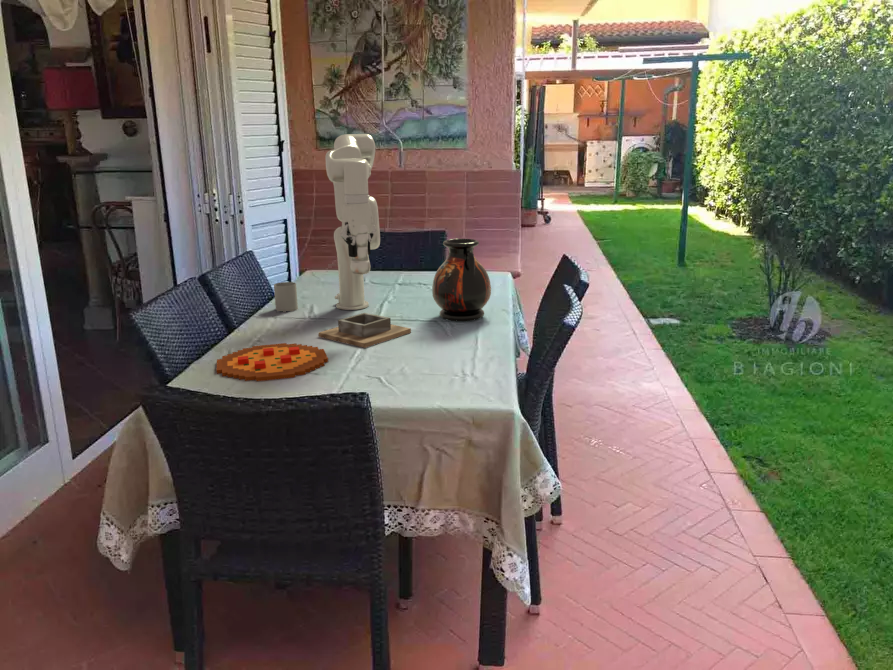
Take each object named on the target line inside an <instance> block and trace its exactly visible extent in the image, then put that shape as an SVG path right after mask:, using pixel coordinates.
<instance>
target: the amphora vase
mask: <svg viewBox="0 0 893 670" xmlns="http://www.w3.org/2000/svg"><path fill="white" fill-rule="evenodd" d="M479 244H480V242H479V240H477V239H474V238H451V239H446V240H444V241H443V243H442V245H443V246H444V247H447V248H448V255H447V258H446V259H445V260H444V262H443V263H442V264H441V265H440V266H438V269H437V270H436V272H435V274H434V277H433V280H432V286H431V287H432V289H431V291H432V292H431V293H432V297H433V301H434V302H435V304H436V305H437V306H438V307H439V308H440V309H441V310H440V311H439V317H441V318H442V319H443V320H446V321H450V322H463V323H464V322H472V321H477V320H480V319H481V318H483V317H484V315H485V311H484V310H483V308H484V307H485V306H486V305H487V303H488V302H489V300H490V298H491V296H492V285H491V280H490V277H489V275H488V272H487V269H486V268H485V267H484V266H483V265H482V263H481V262H480V261H478V259H477V258H476V257H475V255H474V248H475V247H478V245H479Z"/></svg>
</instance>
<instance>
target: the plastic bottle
mask: <svg viewBox="0 0 893 670" xmlns="http://www.w3.org/2000/svg"><path fill="white" fill-rule="evenodd" d="M368 233H369V229H368V227H367V226H366V225H362V226H361V227H360V228H359V229H358V235H357V236H355V237H356V240H355V245H356V249H357V257H352V259H351V260H352V261H351V271H352V273H353V274H358V275H363V276H364V275H368V274H369V273H370V271H371V262H370V258H369V256H370V255H368ZM350 235H351V234H350ZM351 240H352V237H351Z"/></svg>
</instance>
